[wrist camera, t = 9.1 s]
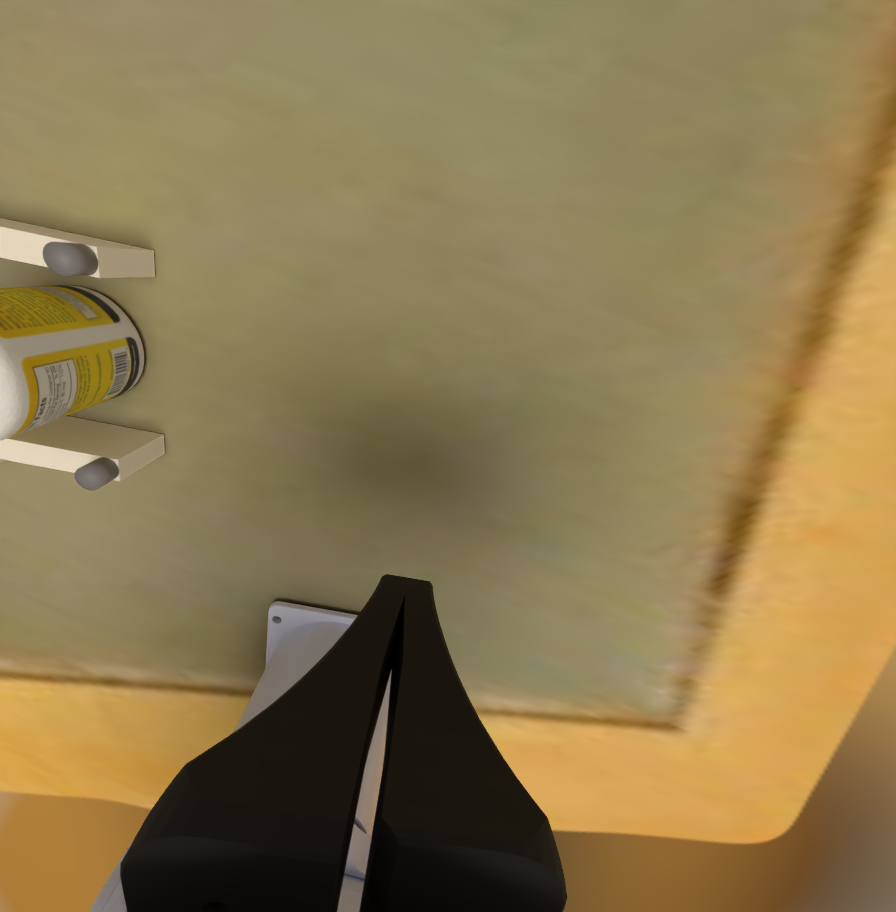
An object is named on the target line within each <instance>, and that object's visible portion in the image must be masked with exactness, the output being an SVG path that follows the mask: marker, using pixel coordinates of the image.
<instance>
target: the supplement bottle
mask: <svg viewBox="0 0 896 912" xmlns="http://www.w3.org/2000/svg"><path fill="white" fill-rule="evenodd" d="M143 366H144V351H143V346H142V342H141V339H140V337H139V334H138V332H137V330H136V329H135V327H134V325H133V324H132V322H131V321H130V320H129V318H128V317H127V316H126V315H125V313H124V312H123V311H122V310H121V309H120V308H119V307H118V306H117V305H116V304H115V303H113V302H112V301H111V300H110V299H108V298H107V297H105V296H103V295H101V294H100V293H97V292H95V291H93V290H90V289H87V288H83V287H79V286H60V285H59V286H40V287H20V288H0V441H1V440H4V439H7V438H10V437H13V436H15V435H17V434H20V433H23V432H26V431H28V430H31V429H33V428H36V427H39V426H41V425H44V424H46V423H49V422H52V421H54V420H57V419H60V418H62V417H65V416H67V415H70V414H73V413H75V412H78V411H80V410H83V409H86V408H88V407H91V406H94V405H96V404H99V403H101V402H104V401H107V400H109V399H112V398H115V397H117V396H120V395H122V394H124V393H126V392H127V391H128V390H130V389H131V388H132V387H133V386H134V385H135V384H136V383H137V381H138V380H139V378H140V376H141V374H142V371H143Z"/></svg>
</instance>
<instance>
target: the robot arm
mask: <svg viewBox="0 0 896 912" xmlns="http://www.w3.org/2000/svg"><path fill="white" fill-rule="evenodd" d="M276 616H278V617H280V618H277V617H276ZM382 768H383V770H382ZM381 775H382V777H381ZM380 781H381V783H380ZM379 787H380V789H379ZM378 793H379V795H378ZM377 799H378V801H377ZM376 805H377V807H376ZM375 812H376V813H375ZM374 818H375V819H374ZM373 824H374V825H373ZM372 830H373V831H372ZM371 836H372V837H371ZM566 900H567V894H566V886H565V878H564V873H563V869H562V865H561V861H560V857H559V853H558V850H557V846H556V843H555V840H554V836H553V833H552V830H551V827H550V824H549V821H548V818H547V816H546V815H545V814H544V813H543V811H542V810H541V809H540V808H539V806H538V805H537V804H536V803H535V801H534V800H533V799H532V797H531V796H530V795H529V793H528V792H527V791H526V789H525V788H524V787H523V785H522V784H521V783H520V781H519V780H518V779H517V777H516V776H515V774H514V773H513V771H512V770H511V768H510V767H509V765H508V764H507V762H506V761H505V760H504V758H503V757H502V755H501V753H500V752H499V750H498V749H497V747H496V745H495V744H494V742H493V740H492V739H491V737H490V735H489V734H488V732H487V731H486V729H485V727H484V726H483V724H482V722H481V721H480V719H479V717H478V715H477V713H476V711H475V709H474V707H473V706H472V704H471V702H470V700H469V698H468V696H467V694H466V691H465V689H464V687H463V685H462V683H461V681H460V678H459V676H458V674H457V671H456V669H455V666H454V664H453V661H452V659H451V656H450V654H449V651H448V648H447V645H446V642H445V639H444V636H443V633H442V630H441V626H440V623H439V619H438V615H437V611H436V607H435V602H434V596H433V585H432V584H431V583H430V581H424V580H418V579H412V578H406V577H400V576H394V575H388V574H386V575H384V576H382V578H381V580H380V582H379V584H378V586H377V588H376V590H375V591H374V593H373V595H372V596H371V598H370V599H369V601H368V602H367V604H366V605H365V607H364V608H363V609H362V611H361V612H360V613H359V615H354V614H349V613H343V612H337V611H332V610H326V609H320V608H315V607H309V606H304V605H298V604H292V603H287V602H281V601H276V602H273V603H272V604H271V606H270V608H269V610H268V629H267V648H266V667H265V670H264V672H263V674H262V676H261V678H260V680H259V682H258V684H257V686H256V688H255V690H254V692H253V694H252V696H251V699H250V701H249V703H248V705H247V707H246V709H245V711H244V713H243V715H242V717H241V719H240V721H239V723H238V725H237V727H236V729H235V731H234V733H232V734H231V735H229V736H228V737H226V738H225V739H223V740H222V741H220V742H219V743H217V744H216V745H214V746H213V747H211V748H210V749H208V750H207V751H205V752H204V753H202V754H201V755H199V756H198V757H196V758H195V759H193V760H191V761H190V762H188V763H187V764H186V765H185V766H184V767H183V768H182V769H181V771H180V772H179V773H178V774H177V776H176V777H175V778H174V780H173V781H172V782H171V783H170V785H169V786H168V787H167V789H166V790H165V792H164V793H163V794H162V796H161V797H160V798H159V800H158V801H157V803H156V804H155V805H154V807H153V808H152V810H151V811H150V813H149V814H148V816H147V818H146V819H145V821H144V823H143V825H142V827H141V828H140V830H139V832H138V833H137V836H136V837H135V839H134V841H133V842H132V843H131V845H130V846H129V847H128V849H127V850H126V852H125V853H124V855H123V856H122V858H121V859H120V861H119V862H118V864H117V865H116V867H115V868H114V870H113V872H112V873H111V875H110V877H109V878H108V880H107V881H106V883H105V885H104V887H103V888H102V890H101V891H100V893H99V895H98V897H97V898H96V900H95V902H94V904H93V905H92V907H91V909H90V910H89V912H563V910H564V907H565V904H566Z"/></svg>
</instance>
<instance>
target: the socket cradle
mask: <svg viewBox="0 0 896 912" xmlns="http://www.w3.org/2000/svg"><path fill="white" fill-rule="evenodd" d="M0 257H1V258H5V259H10V260H15V261H20V262H25V263H29V264H34V265H39V266H44V267H48V268H49V269H50V270H51V271H53V272H54V273H56V274H58V275H62V276H80V275H87V276H92V277H97V278H131V277H155V263H154V250H149V249H144V248H140V247H135V246H130V245H125V244H121V243H116V242H111V241H107V240H102V239H97V238H92V237H88V236H83V235H78V234H74V233H69V232H64V231H60V230H55V229H50V228H45V227H41V226H36V225H31V224H27V223H22V222H17V221H13V220H8V219H3V218H0ZM164 454H165V445H164V434H158V433H153V432H148V431H143V430H138V429H133V428H127V427H122V426H117V425H112V424H107V423H102V422H96V421H91V420H86V419H81V418H76V417H70V416H65V417H62V418H60V419H57V420H54V421H52V422H49V423H46V424H44V425H41V426H39V427H36V428H33V429H31V430H28V431H26V432H23V433H20V434H17V435H15V436H13V437H10V438H7V439H4V440H1V441H0V462H2V461H4V460H9V461H14V462H20V463H25V464H30V465H36V466H41V467H46V468H52V469H57V470H62V471H68V472H73V473H75V479H76V481H77V483H78V484H79V485H80V486H81V487H83V488H85V489H87V490H96V489H98V488H100V487H101V486H103V485H105V484H106V483H108V482H110V481H111V480H116V481H122V480H123V479H125V478H126V477H128V476H130V475H131V474H133V473H135V472H136V471H138V470H139V469H141V468H143V467H144V466H146V465H148V464H149V463H151V462H152V461H154V460H156V459H157V458H159V457H161V456H162V455H164Z"/></svg>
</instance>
